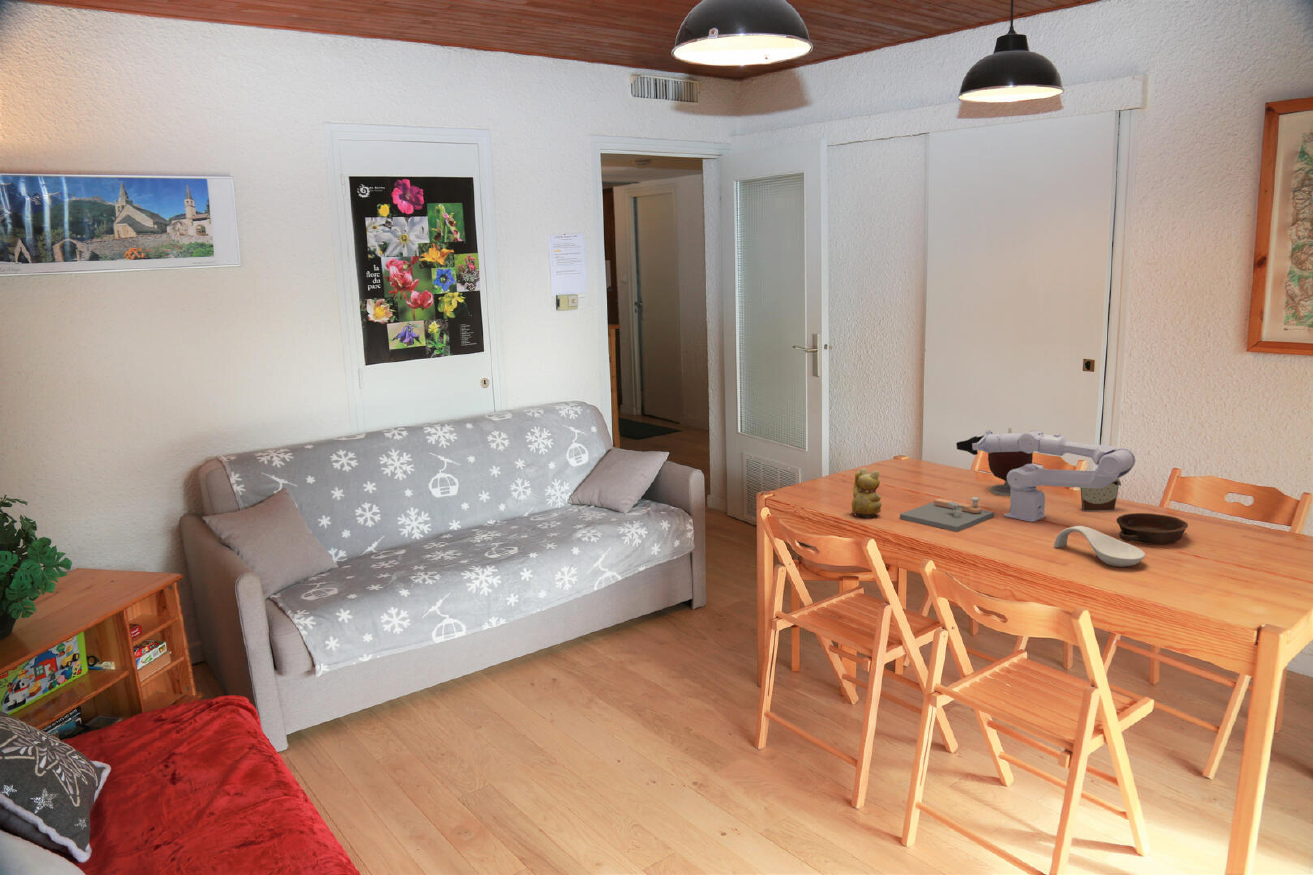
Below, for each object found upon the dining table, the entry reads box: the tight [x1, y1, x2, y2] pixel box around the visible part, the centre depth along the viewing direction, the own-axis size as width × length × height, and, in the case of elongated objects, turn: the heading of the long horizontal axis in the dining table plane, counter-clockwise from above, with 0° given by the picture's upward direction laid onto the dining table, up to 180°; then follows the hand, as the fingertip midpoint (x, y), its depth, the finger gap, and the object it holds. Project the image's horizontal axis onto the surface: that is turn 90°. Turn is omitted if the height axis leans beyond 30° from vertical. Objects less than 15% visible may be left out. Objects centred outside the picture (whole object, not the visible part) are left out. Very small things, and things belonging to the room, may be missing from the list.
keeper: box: [947, 502, 962, 518], centre depth 285 cm, size 2×5×4 cm, turn 10°
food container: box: [1080, 478, 1122, 512], centre depth 290 cm, size 12×6×10 cm, turn 84°
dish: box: [1116, 512, 1189, 545], centre depth 261 cm, size 18×22×5 cm
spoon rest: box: [1053, 525, 1146, 568], centre depth 247 cm, size 24×12×7 cm, turn 32°
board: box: [899, 501, 995, 532], centre depth 288 cm, size 20×20×2 cm
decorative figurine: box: [851, 467, 883, 519], centre depth 293 cm, size 10×8×15 cm
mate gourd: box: [987, 427, 1034, 497], centre depth 313 cm, size 16×14×20 cm
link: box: [933, 496, 982, 513], centre depth 291 cm, size 15×4×4 cm, turn 40°
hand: (963, 444), depth 297 cm, fingers open, 7 cm apart
